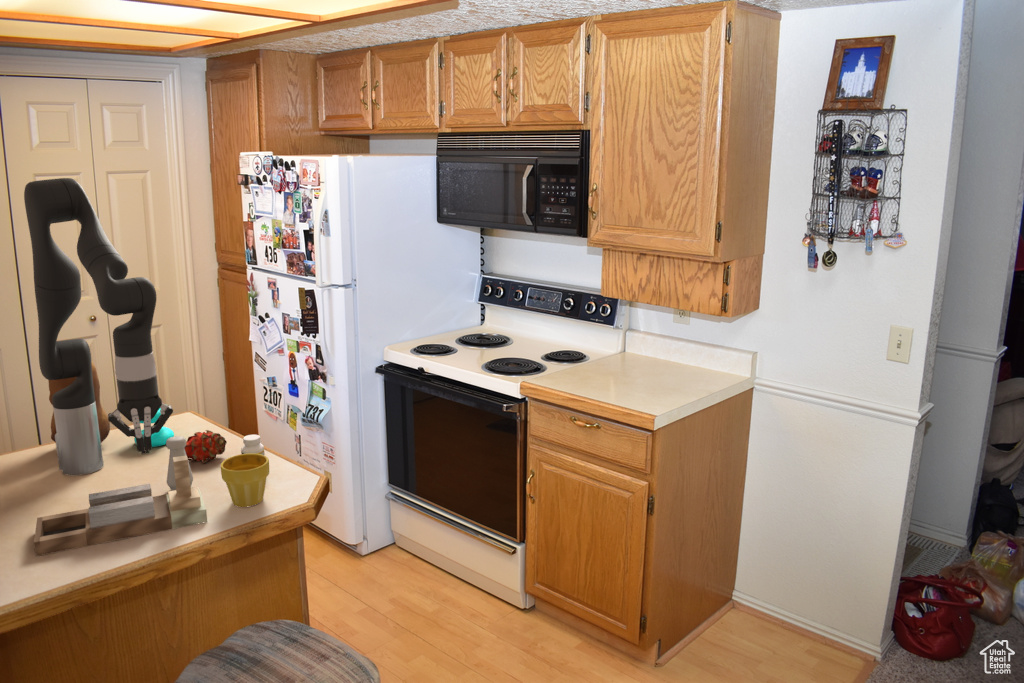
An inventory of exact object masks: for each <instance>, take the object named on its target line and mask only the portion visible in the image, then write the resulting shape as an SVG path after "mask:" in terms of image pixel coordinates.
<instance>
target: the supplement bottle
mask: <svg viewBox="0 0 1024 683" xmlns="http://www.w3.org/2000/svg"><path fill="white" fill-rule="evenodd" d="M242 440H243V446H242V447H241V450H240V453H241V454H248V453H255V454H262V455H264V456H266V455H265V446H264V445H263V444H262V443H261V442H262V440H261V436H260V435H258V434H248V435H247V434H246V435H245V436H244V437H243V438H242Z"/></svg>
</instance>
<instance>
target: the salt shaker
mask: <svg viewBox="0 0 1024 683" xmlns="http://www.w3.org/2000/svg"><path fill="white" fill-rule="evenodd" d="M186 442H187V439H186V438H185V437H184V436H181V435H176V436H175V435H174V437H171V438H169V439H168V440H167V441H166V444H165V445H166V448H167V450H169V454H168V455H169V458H168V466H167V476H166V484H167V486H168V487H169V489H170V491H173V490H176V483H175V473H174V464H173V457H179V456H185V455H186V452H185V449H184V447H185V446H186ZM188 466H189V476H190V486H191V487H192V484H193V482H194V475H193V472H192V468H191V465H190V461H188Z"/></svg>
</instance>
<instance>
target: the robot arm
mask: <svg viewBox="0 0 1024 683" xmlns="http://www.w3.org/2000/svg"><path fill="white" fill-rule="evenodd" d="M23 199H24V207H25V214H26V219H27V220H26V221H27V225H28V231H29V236H30V241H31V242H30V243H31V251H32V265H33V281H34V282H33V283H34V284H33V285H34V287H33V288H34V295H35V302H36V303H35V305H36V310H37V319H38V320H37V321H38V362H39V368H40V372H41V374H42V376H43V378H44V379H45V380H47V381H48V380H59V379H65V378H72V377H77V378H76V380H75V381H74V382H73V383H72V384H70V385H69V386H67V387H66V388H64V389H62V390H60V391H58V392H56V393H55V394H54V395H53V396H52V404H53V405H52V404H51V405H52V409H53V410H52V411H54V418H55V424H56V431H57V433H56V434H55V441H56V442H55V446H56V448H55V449H56V452H57V453H56V454H57V455H56V456H57V461H58V467H59V471H61V473H62V474H64V475H66V476H82V475H88V474H91V473H95V472H97V471H99V470H100V469H102V468H103V467H104V458H103V449H102V443H101V441H100V433H99V425H98V417H97V410H96V402H95V395H94V386H93V377H92V363H93V361H92V353H91V348H90V344H89V343H88V341H87V340H86V339H84V338H73V339H65V340H58V336H59V334H60V331H61V330H62V328H63V326H64V325H65V324H66V323H67V321H68V320H69V318H70V317H71V316H72V314H73V313H74V312H75V310H76V309H77V307H78V306H79V305H80V302H81V298H82V284H81V281H82V280H81V273H80V270H79V267H77V265H76V263H75V262H74V261H73V260H72V259H71V258H70V257H69V255H67V254H66V253H65V251H63V250H62V249H61V248H60V247H59V245H58V244H57V242H56V241H55V240H54V238H53V237H52V232H51V224H59V223H66V222H72V221H77V222H78V223H79V224H80V232H79V236H78V238H77V242H76V244H77V245H76V254H77V257H78V260H79V261H80V263H81V265H82V266H83V268H84V269H85V270H86V272H87V273H88V275H89V277H90V278H91V279H92V281H93V285H94V287H95V291H96V296H97V301H98V303H99V307H100V308H101V309H102V311H103V312H104V313H106V314H108V315H111V316H116V317H117V316H122V315H123V316H124V315H129V314H130V315H131V318H130V320H128V321H127V322H124V323H122V324H120V325H118V326H116V327H115V328H114V329H113V331H112V340H113V350H114V358H115V359H114V368H115V371H114V372H115V378H116V386H117V393H118V402H117V404H116V409H115V410H114V411H112V412H109V413H108V414H107V416H108V421H109V422H110V423H111V424H112V425H113V426H115V427H116V429H117V430H119V431H120V432H122V433H123V434H124V435H125V436H126V437H129V438H131V437H132V438H133V437H134V438H136V443H137V444H136V443H135V444H136V449H137V451H138V453H140V452H141V455H144V454H149V453H150V451H151V450H152V449H153V447H152V443H151V435H152V434H154V433H158V432H159V431H160V430H161V428H162V427H164V425H165V424H166V423H167V421H168V420H169V418H170V417H171V416H172V414H173V413H174V409H173V406H172V405H170V404H169V405H168V404H166V403H164V402H163V401H162V398H161V397H160V396H159V395H160V394H159V385H158V376H157V367H156V361H155V357H154V351H153V343H152V342H153V341H152V334H151V333H152V327H153V321H154V314H155V310H156V306H157V290H156V288H155V286H154V284H153V283H152V282H151V280H150V279H148V278H147V277H142V276H137V277H130V278H127V276H128V273H129V268H128V264H127V263H126V261H125V260H124V259H123V257H122V256H121V254H120V253H119V252H118V250H117V249H116V248H115V246H114V245H113V243H112V242H111V241H110V240H109V237H108V236H107V234H106V232H105V230H104V228H103V225H102V223H101V222H100V221H101V220H100V219H99V217H98V215H97V212H96V211H95V209H94V207H93V205H92V202H91V201H90V198H89V197H88V195H87V193H86V191H85V190H84V188H83V186H82V185H81V184H80V183H79V182H78V181H77V180H75V178H71V177H60V178H52V179H51V178H49V179H42V180H41V179H39V180H34V181H29V182H28V183H26V185H25V186H24V192H23ZM160 408H161V410H160V413H161V415H160V416H159V418H158V419H157V421H156V422H155V423H153V425H152V423H151V419H152V418H154V416H155V415H156V413H157V412H158V410H159V409H160ZM122 416H124V418H126V420H128V421H129V422H131V423H132V424H133V428H131V427H130V426H129V425H128V424H127V423H125V422H124V421H123V420H122ZM140 421H144V424H143V429H144V434H143V435H142V432H141V430H142V428H141V423H140ZM143 438H144V439H143Z"/></svg>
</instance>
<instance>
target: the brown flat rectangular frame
mask: <svg viewBox="0 0 1024 683" xmlns="http://www.w3.org/2000/svg"><path fill="white" fill-rule="evenodd" d="M198 491H199V495H200V501H201V506H199V507H193V508H188V509H182V510H177V511H171V508H170V502H169V494H168V493H167V494H161V495H157V496H156V495H155V496H153V502H154V510H155V517H154V518H149V519H144V520H138V521H133V522H128V523H123V524H118V525H112V526H107V527H102V528H97V529H91V525H90V518H89V507H88V508H84V509H79V510H78V509H77V510H73V511H68V512H67V511H66V512H61V513H56V514H51V515H45V516H40V517H37V518H36V522H35V524H36V526H35V531H34V532H35V533H34V539H33V545H34V546H33V547H34V552H35V556H36V557H38V556H39V557H40V556H43V555H49V554H54V553H58V552H64V551H69V550H74V549H80V548H84V547H88V546H93V545H94V546H95V545H100V544H103V543H108V542H115V541H119V540H125V539H130V538H135V537H138V536H144V535H149V534H155V533H159V532H160V533H161V532H165V531H170V530H174V529H179V528H184V527H190V526H194V524H195V525H198V523H200V524H204V523H203V522H205V523H208V515H207V513H208V512H207V508H206V504H205V501H204V498H203V496H202V493H201V489H200V488H198Z"/></svg>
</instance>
